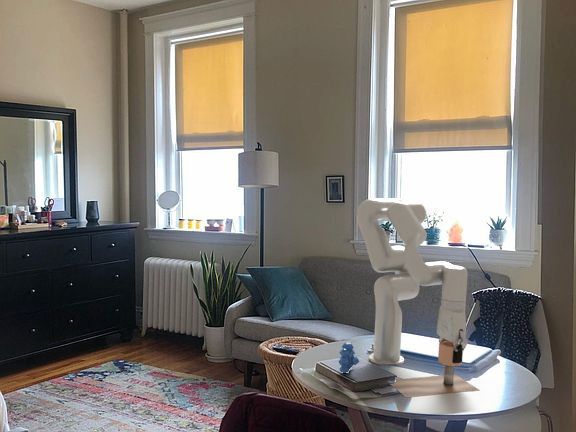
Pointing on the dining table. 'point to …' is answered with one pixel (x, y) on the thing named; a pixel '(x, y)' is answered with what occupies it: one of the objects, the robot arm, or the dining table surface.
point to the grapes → (347, 357)
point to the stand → (433, 384)
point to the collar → (446, 353)
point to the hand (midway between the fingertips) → (450, 358)
